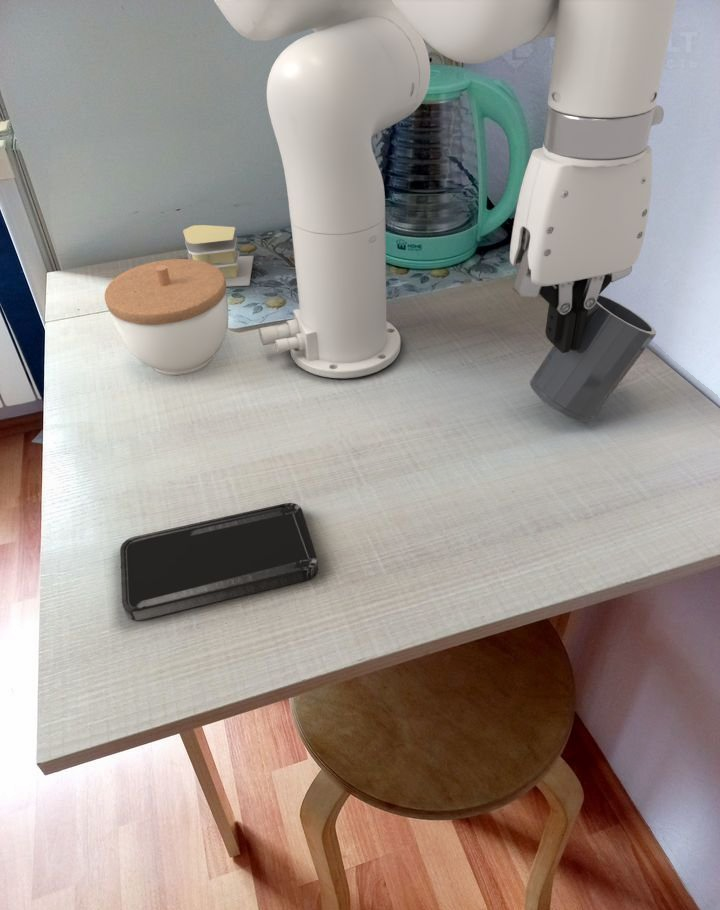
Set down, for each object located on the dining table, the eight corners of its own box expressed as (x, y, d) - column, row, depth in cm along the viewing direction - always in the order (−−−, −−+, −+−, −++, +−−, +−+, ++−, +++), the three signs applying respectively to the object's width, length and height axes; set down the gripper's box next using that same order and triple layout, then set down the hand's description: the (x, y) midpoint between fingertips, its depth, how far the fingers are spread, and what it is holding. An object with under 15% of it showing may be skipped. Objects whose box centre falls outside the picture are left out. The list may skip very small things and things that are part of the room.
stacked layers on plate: (253, 255, 100) (248, 218, 96) (249, 285, 93) (243, 246, 90) (182, 259, 100) (174, 222, 96) (173, 289, 93) (164, 250, 90)
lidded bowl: (119, 343, 83) (92, 255, 76) (223, 320, 87) (207, 233, 80) (134, 401, 74) (106, 307, 67) (250, 372, 78) (234, 280, 71)
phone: (320, 567, 55) (122, 614, 52) (320, 576, 56) (126, 623, 53) (298, 499, 61) (119, 538, 58) (299, 508, 61) (123, 547, 59)
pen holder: (552, 414, 65) (618, 322, 60) (518, 372, 70) (575, 284, 65) (604, 427, 69) (670, 341, 64) (567, 386, 74) (626, 304, 69)
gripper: (653, 105, 57) (611, 310, 69) (482, 131, 54) (469, 340, 66) (715, 130, 51) (659, 348, 63) (529, 161, 48) (506, 383, 60)
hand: (562, 343), depth 64 cm, fingers closed
